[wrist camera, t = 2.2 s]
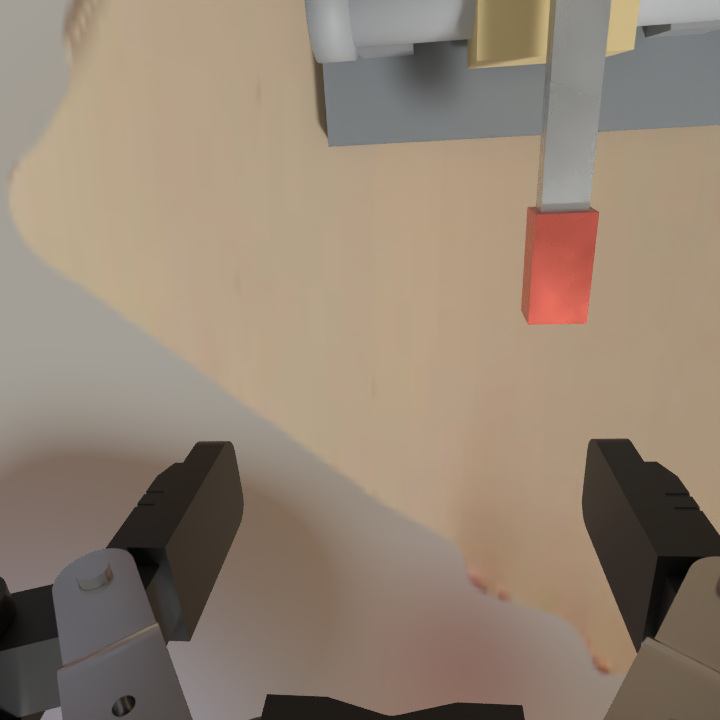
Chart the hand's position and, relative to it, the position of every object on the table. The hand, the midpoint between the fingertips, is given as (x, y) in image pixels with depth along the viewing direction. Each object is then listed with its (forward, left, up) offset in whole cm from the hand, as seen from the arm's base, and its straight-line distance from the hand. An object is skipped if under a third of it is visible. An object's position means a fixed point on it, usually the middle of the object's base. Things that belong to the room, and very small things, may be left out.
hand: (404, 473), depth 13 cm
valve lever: (-6, +7, -16) cm, 19 cm away
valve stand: (-13, +7, -29) cm, 32 cm away
